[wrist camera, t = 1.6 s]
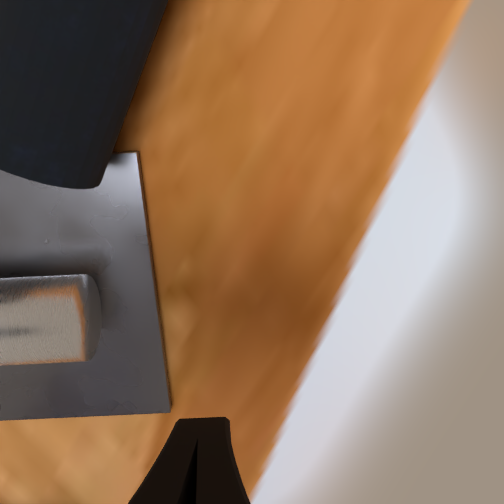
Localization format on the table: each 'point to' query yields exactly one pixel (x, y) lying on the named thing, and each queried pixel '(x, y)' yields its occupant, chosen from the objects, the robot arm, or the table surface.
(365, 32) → the table surface
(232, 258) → the table surface
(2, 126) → the pipe connector
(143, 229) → the grey cradle rack
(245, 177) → the table surface
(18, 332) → the grey long cylinder
